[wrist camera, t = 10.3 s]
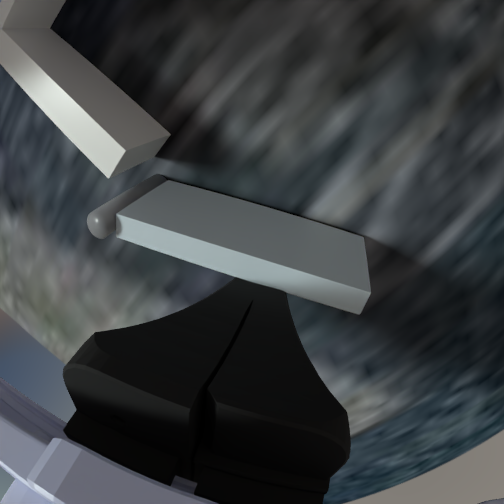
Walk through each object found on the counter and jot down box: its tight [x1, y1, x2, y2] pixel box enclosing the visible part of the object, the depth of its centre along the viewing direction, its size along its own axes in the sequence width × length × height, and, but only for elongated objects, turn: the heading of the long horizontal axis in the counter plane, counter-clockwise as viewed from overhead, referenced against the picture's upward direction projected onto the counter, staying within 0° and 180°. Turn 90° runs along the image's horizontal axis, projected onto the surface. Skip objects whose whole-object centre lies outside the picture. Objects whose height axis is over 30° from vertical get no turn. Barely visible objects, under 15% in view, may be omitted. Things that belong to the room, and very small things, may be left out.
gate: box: [87, 174, 371, 315], centre depth 10 cm, size 1×8×4 cm, turn 78°
